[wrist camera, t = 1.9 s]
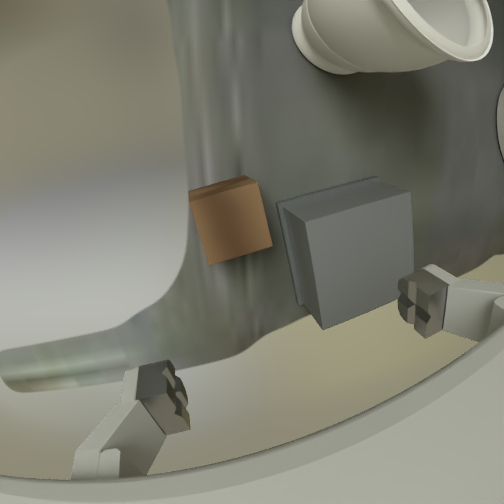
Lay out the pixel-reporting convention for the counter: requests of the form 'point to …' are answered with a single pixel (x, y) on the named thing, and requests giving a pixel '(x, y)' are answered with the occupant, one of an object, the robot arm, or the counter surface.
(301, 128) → the counter surface
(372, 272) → the pedestal
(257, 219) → the cube
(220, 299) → the counter surface
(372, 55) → the jar
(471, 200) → the counter surface
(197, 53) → the counter surface
